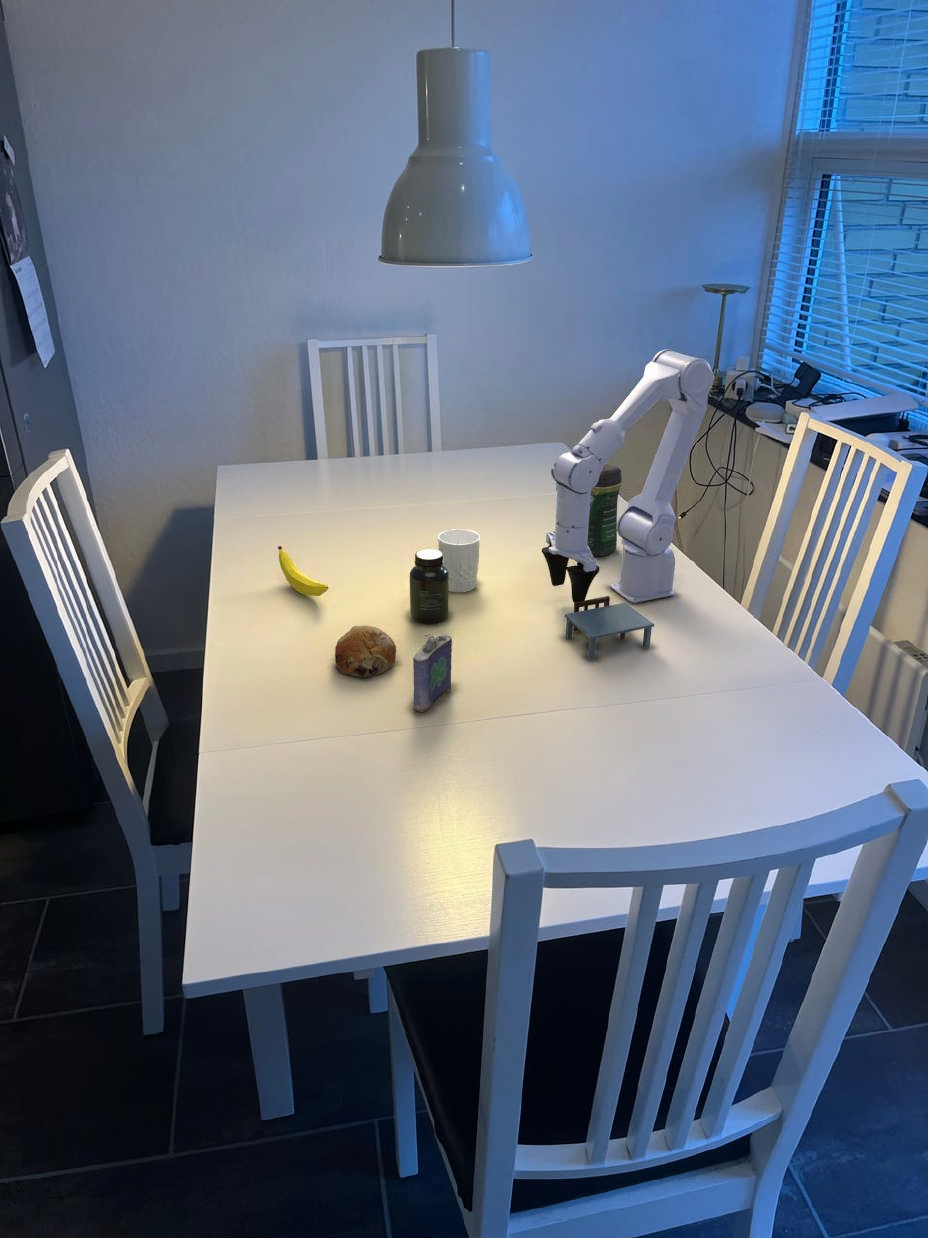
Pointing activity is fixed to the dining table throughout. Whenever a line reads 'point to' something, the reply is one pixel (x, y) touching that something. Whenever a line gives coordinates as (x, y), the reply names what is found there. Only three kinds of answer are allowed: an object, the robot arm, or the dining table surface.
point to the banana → (299, 577)
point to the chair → (595, 602)
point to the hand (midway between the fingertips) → (568, 593)
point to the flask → (432, 671)
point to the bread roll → (365, 651)
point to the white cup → (460, 558)
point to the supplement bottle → (429, 588)
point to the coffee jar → (604, 511)
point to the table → (608, 624)
